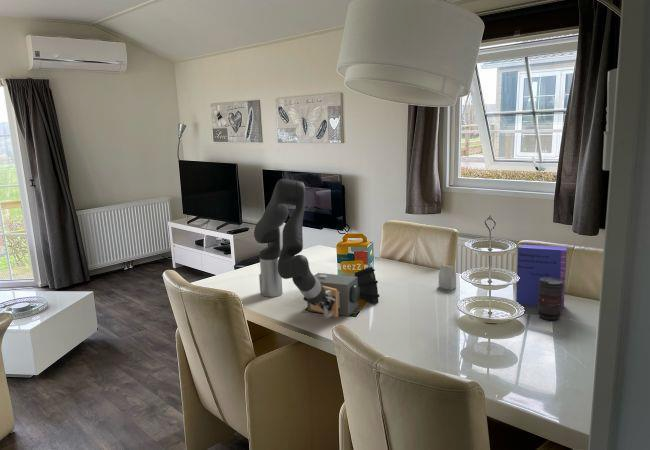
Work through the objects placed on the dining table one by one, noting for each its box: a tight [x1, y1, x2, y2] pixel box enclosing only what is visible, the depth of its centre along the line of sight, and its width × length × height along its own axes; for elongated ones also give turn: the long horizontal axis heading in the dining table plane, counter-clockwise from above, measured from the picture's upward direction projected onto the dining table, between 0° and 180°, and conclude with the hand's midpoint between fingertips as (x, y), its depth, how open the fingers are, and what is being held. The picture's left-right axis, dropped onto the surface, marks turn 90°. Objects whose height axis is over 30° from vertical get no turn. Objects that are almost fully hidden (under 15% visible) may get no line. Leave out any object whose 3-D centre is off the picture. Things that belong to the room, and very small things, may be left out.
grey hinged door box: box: [306, 272, 360, 317], centre depth 208 cm, size 20×11×14 cm, turn 65°
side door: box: [309, 285, 339, 319], centre depth 200 cm, size 15×5×11 cm, turn 47°
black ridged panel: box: [353, 266, 380, 305], centre depth 218 cm, size 4×13×15 cm, turn 32°
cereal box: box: [515, 244, 568, 310], centre depth 202 cm, size 17×5×24 cm, turn 65°
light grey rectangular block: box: [438, 264, 457, 291], centre depth 229 cm, size 4×7×10 cm, turn 41°
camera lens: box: [537, 277, 563, 323], centre depth 189 cm, size 8×8×15 cm
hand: (327, 308), depth 197 cm, fingers closed on side door
